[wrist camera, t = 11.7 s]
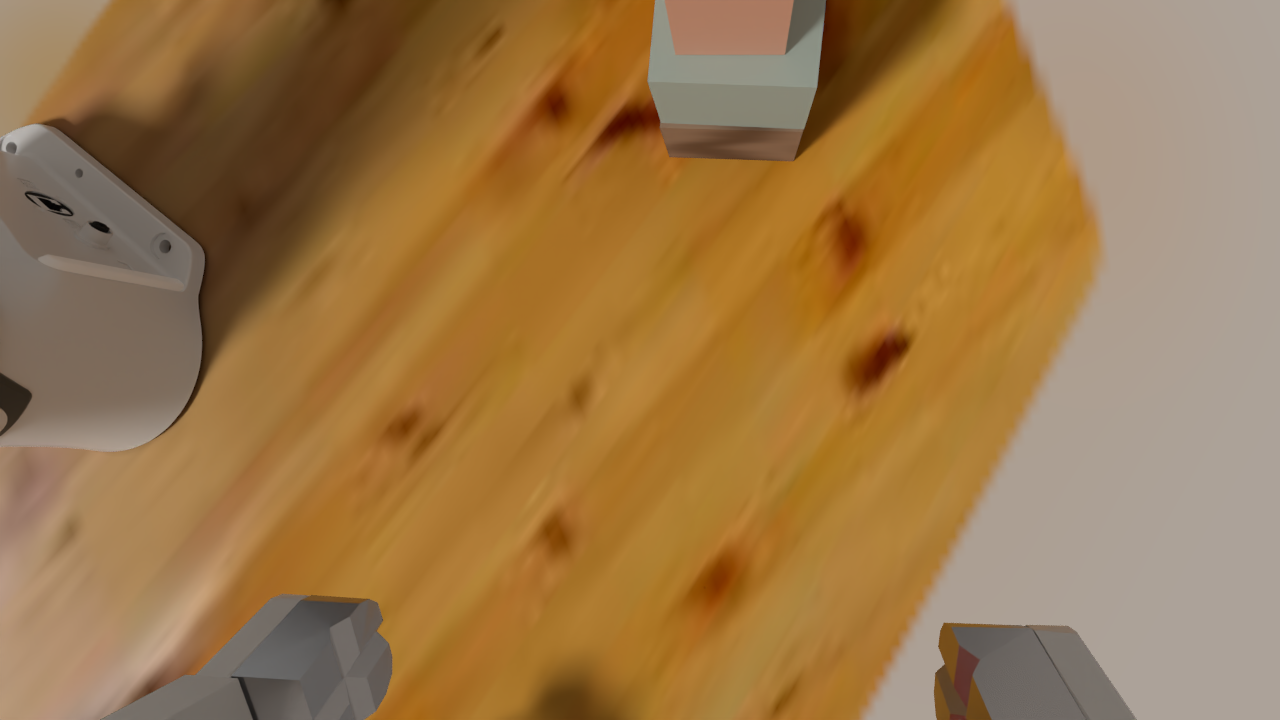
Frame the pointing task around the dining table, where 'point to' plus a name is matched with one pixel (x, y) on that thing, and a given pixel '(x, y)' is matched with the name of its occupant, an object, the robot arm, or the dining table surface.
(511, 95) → the dining table surface
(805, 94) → the tower top
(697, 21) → the tall block
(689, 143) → the tower base
